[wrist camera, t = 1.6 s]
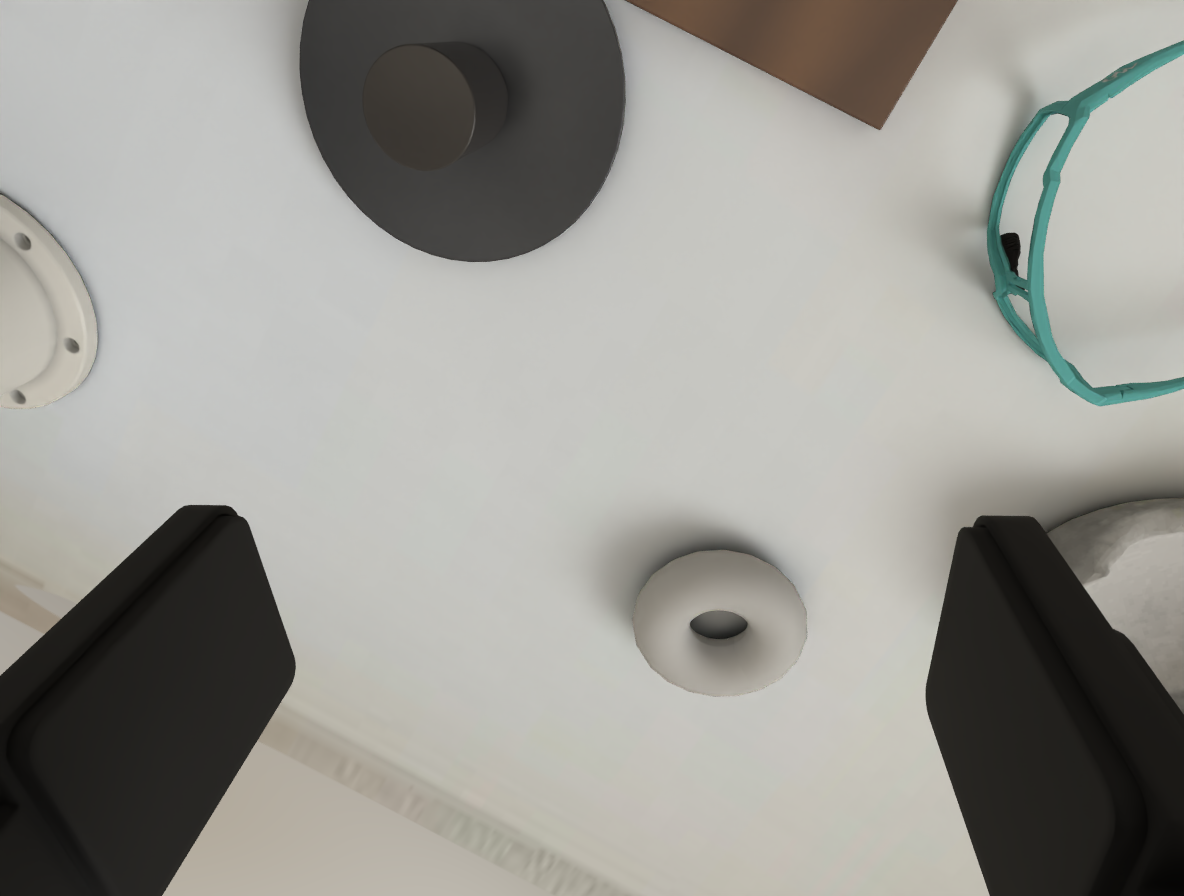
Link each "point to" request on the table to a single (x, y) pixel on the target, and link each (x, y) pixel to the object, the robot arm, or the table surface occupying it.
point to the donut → (712, 588)
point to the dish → (1135, 577)
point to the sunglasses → (1008, 245)
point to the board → (820, 43)
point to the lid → (465, 115)
